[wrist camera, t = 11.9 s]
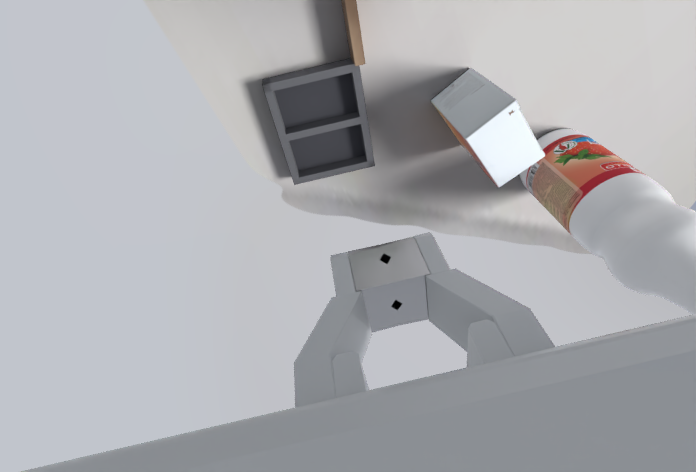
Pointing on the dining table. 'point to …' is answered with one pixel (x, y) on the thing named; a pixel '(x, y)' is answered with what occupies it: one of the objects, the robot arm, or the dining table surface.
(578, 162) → the fruit juice
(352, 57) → the lane walls
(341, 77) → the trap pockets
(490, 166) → the small box
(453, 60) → the dining table surface
